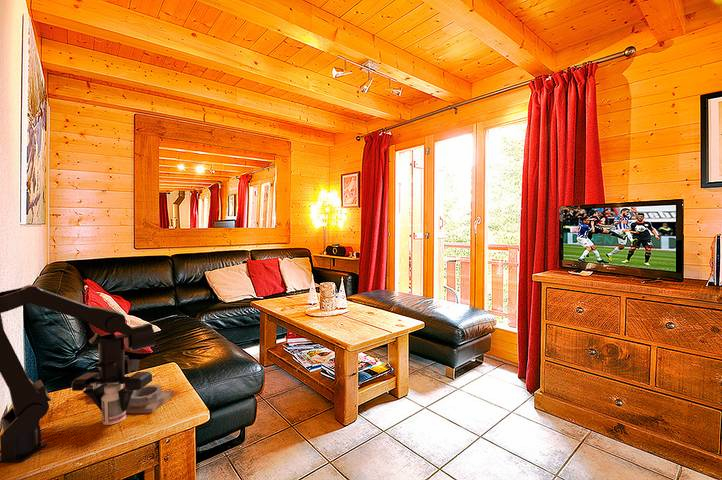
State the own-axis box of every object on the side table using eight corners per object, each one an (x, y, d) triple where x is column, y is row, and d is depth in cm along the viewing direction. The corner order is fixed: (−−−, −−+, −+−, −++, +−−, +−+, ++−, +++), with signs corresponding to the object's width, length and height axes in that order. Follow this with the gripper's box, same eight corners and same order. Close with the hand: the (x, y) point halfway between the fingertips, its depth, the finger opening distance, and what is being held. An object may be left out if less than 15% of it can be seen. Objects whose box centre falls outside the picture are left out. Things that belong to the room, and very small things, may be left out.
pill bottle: (130, 414, 98) (129, 380, 98) (117, 425, 93) (116, 389, 92) (111, 415, 98) (109, 381, 98) (97, 426, 93) (95, 390, 92)
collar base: (152, 412, 99) (152, 400, 99) (114, 413, 99) (114, 400, 99) (173, 394, 110) (173, 383, 110) (139, 394, 110) (138, 383, 110)
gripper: (162, 345, 103) (164, 396, 103) (100, 346, 103) (102, 397, 103) (138, 359, 92) (140, 416, 92) (68, 360, 92) (71, 417, 92)
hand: (114, 411), depth 95 cm, fingers closed on pill bottle, 5 cm apart
